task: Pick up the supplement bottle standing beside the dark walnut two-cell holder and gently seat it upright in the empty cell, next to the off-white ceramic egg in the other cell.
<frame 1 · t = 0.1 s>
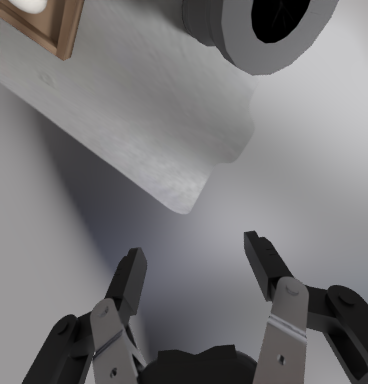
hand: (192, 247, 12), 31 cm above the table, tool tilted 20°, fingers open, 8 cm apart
grey turned candlestick: (201, 11, 24), on the table
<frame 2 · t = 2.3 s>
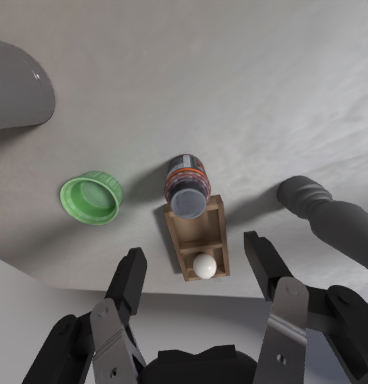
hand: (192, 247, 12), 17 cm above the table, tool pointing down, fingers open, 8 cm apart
supplement bottle: (186, 169, 27), on the table
grey turned candlestick: (293, 190, 30), on the table
holder: (199, 237, 35), on the table
ramekin: (102, 190, 29), on the table
egg: (203, 256, 36), point 1 cm above the table, touching holder
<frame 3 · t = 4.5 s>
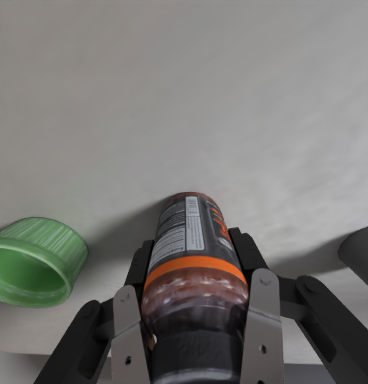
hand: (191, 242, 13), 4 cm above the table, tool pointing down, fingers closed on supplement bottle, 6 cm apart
supplement bottle: (190, 214, 16), on the table, touching gripper
grey turned candlestick: (366, 244, 18), on the table
ramekin: (53, 242, 18), on the table
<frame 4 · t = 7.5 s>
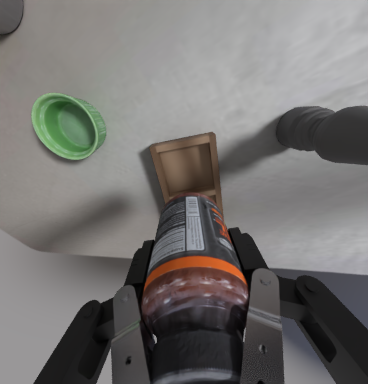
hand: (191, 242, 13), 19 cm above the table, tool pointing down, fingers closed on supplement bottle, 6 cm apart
supplement bottle: (190, 214, 16), point 15 cm above the table, touching gripper
grey turned candlestick: (294, 127, 27), on the table
holder: (191, 188, 32), on the table
ramekin: (83, 126, 27), on the table
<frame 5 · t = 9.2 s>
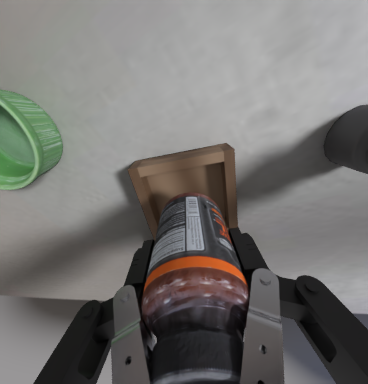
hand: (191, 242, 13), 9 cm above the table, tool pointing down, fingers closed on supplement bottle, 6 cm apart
supplement bottle: (190, 214, 16), point 5 cm above the table, touching gripper
grey turned candlestick: (352, 136, 17), on the table
holder: (194, 221, 22), on the table
ramekin: (26, 134, 17), on the table
when the fingers open (6 cm above the table, at t = 10.7 s): supplement bottle drops 1 cm, resting on holder.
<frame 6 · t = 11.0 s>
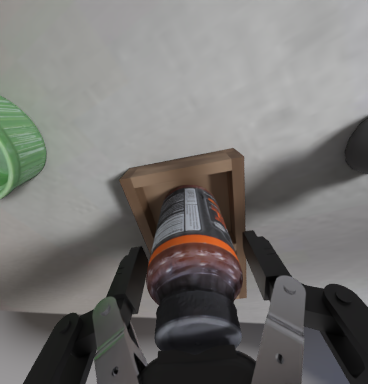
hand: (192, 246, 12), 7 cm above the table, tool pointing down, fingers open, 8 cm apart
supplement bottle: (189, 206, 17), point 1 cm above the table, touching holder
holder: (195, 233, 20), on the table
ramekin: (5, 138, 15), on the table
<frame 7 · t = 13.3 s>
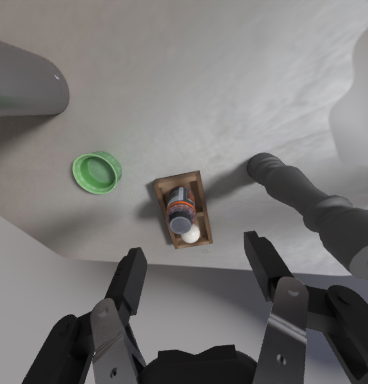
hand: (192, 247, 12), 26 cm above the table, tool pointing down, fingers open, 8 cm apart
supplement bottle: (181, 195, 38), point 1 cm above the table, touching holder
grey turned candlestick: (260, 165, 36), on the table
holder: (186, 210, 41), on the table
ramekin: (104, 168, 37), on the table
egg: (189, 226, 42), point 1 cm above the table, touching holder
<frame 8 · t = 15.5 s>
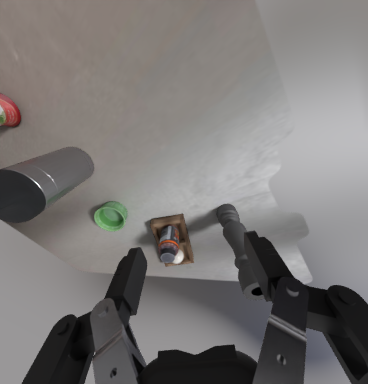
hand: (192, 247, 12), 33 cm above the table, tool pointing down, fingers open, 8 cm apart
supplement bottle: (170, 230, 53), point 1 cm above the table, touching holder
liquor: (10, 110, 37), on the table
grey turned candlestick: (226, 211, 51), on the table
holder: (174, 238, 56), on the table
ramekin: (115, 211, 51), on the table
egg: (176, 250, 57), point 1 cm above the table, touching holder
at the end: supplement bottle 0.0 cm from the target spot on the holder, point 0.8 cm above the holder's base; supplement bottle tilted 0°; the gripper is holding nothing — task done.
